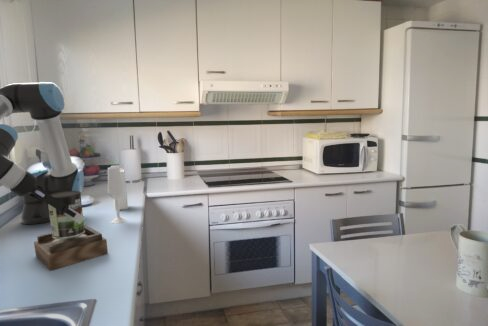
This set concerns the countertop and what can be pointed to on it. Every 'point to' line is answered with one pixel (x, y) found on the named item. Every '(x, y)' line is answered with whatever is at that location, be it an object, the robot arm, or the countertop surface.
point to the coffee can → (63, 224)
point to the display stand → (70, 248)
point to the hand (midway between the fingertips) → (76, 217)
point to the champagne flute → (115, 190)
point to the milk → (123, 200)
